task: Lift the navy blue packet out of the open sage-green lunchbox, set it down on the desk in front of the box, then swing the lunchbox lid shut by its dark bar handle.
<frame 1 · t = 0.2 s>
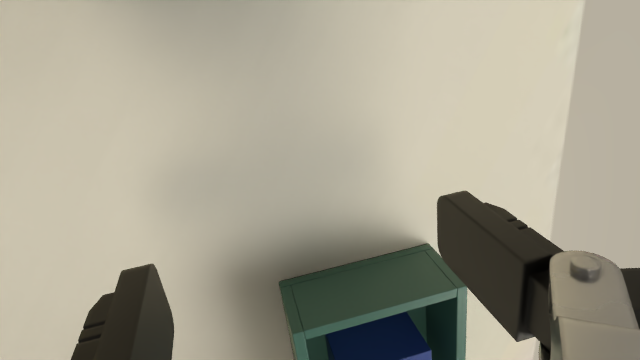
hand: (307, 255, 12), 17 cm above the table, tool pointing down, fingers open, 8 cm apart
lunchbox: (364, 339, 37), on the table
packet: (366, 337, 36), point 1 cm above the table, touching lunchbox
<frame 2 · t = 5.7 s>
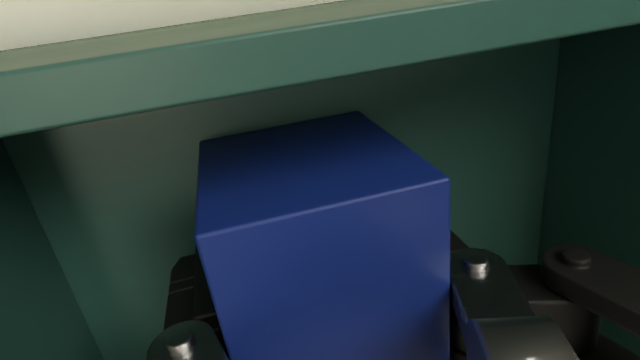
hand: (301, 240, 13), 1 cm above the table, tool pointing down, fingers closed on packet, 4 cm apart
lunchbox: (325, 215, 14), on the table
packet: (300, 235, 13), point 1 cm above the table, touching gripper, lunchbox
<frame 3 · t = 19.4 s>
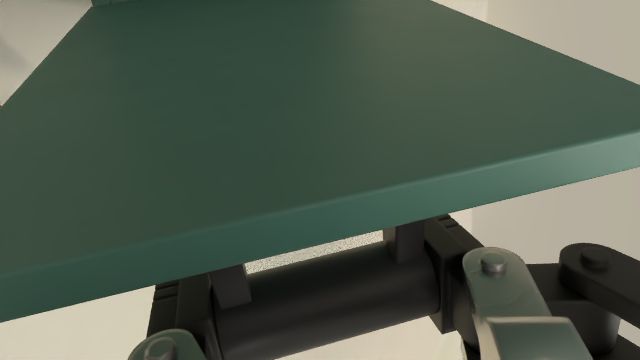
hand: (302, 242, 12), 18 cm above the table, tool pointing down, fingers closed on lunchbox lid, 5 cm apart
lunchbox lid: (270, 118, 14), point 14 cm above the table, hinge at 100.0°, touching gripper
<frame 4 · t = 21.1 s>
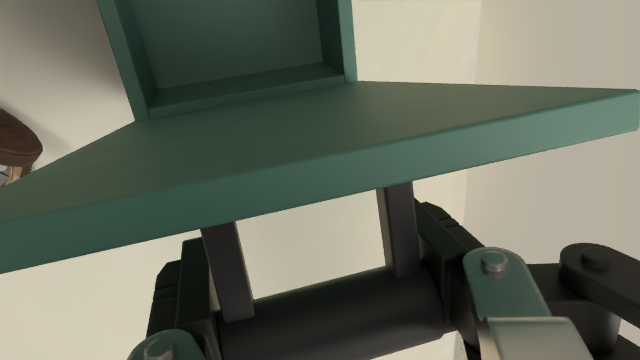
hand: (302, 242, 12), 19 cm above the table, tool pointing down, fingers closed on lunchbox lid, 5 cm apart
lunchbox lid: (281, 186, 16), point 15 cm above the table, hinge at 79.5°, touching gripper
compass: (1, 152, 27), on the table
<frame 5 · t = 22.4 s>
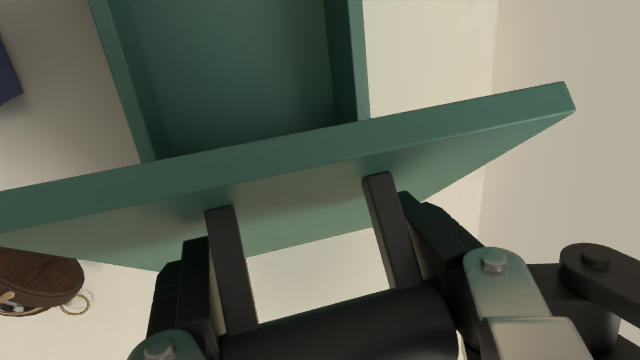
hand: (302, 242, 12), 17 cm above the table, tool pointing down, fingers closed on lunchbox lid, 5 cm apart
lunchbox lid: (300, 278, 16), point 15 cm above the table, hinge at 51.5°, touching gripper
lunchbox: (245, 83, 27), on the table
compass: (41, 268, 29), on the table
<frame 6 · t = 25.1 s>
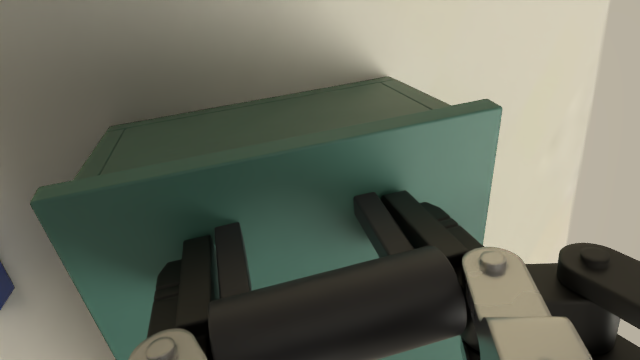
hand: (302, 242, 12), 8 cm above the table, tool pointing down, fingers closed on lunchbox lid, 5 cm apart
lunchbox: (285, 252, 22), on the table
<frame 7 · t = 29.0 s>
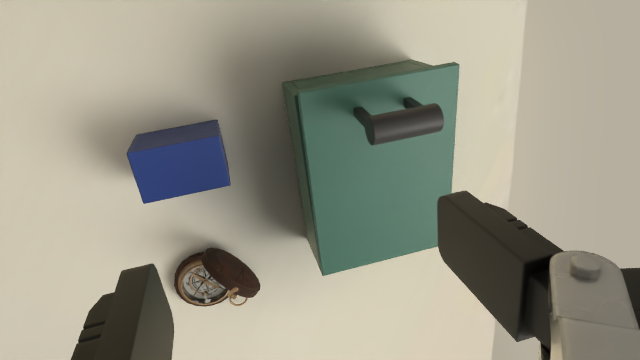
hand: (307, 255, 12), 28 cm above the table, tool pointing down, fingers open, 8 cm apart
lunchbox lid: (394, 191, 34), point 9 cm above the table, hinge at 5.5°
lunchbox: (357, 154, 42), on the table
packet: (183, 150, 38), on the table
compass: (218, 274, 44), on the table
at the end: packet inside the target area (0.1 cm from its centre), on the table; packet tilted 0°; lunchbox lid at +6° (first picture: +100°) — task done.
